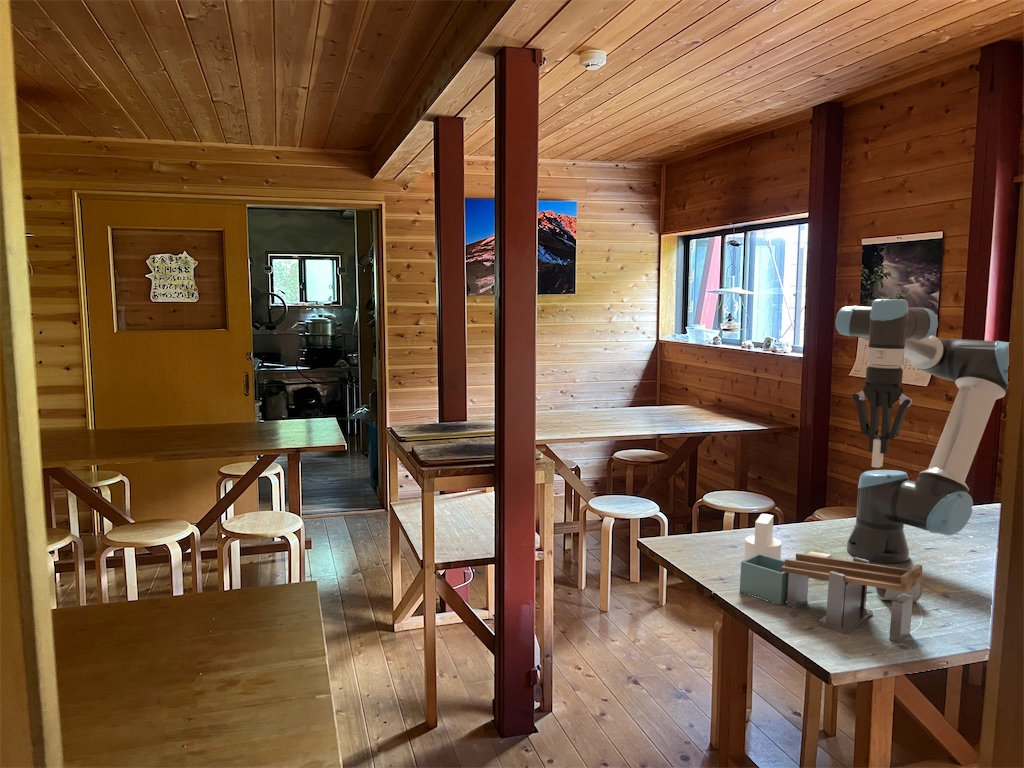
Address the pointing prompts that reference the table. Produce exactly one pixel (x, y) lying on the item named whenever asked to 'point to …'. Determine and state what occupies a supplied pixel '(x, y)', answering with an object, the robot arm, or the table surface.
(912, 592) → the ceramic mug
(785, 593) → the open box
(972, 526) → the table surface
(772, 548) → the cylinder with rectangular tab
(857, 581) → the wooden ramp track
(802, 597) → the support blocks
